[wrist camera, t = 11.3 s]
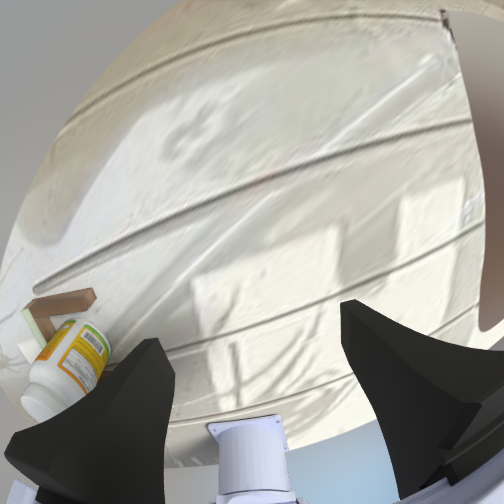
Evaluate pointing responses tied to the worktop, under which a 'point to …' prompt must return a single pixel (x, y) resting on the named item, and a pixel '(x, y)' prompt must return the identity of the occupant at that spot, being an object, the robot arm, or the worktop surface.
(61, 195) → the worktop surface
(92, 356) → the supplement bottle
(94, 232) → the worktop surface
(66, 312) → the dock
